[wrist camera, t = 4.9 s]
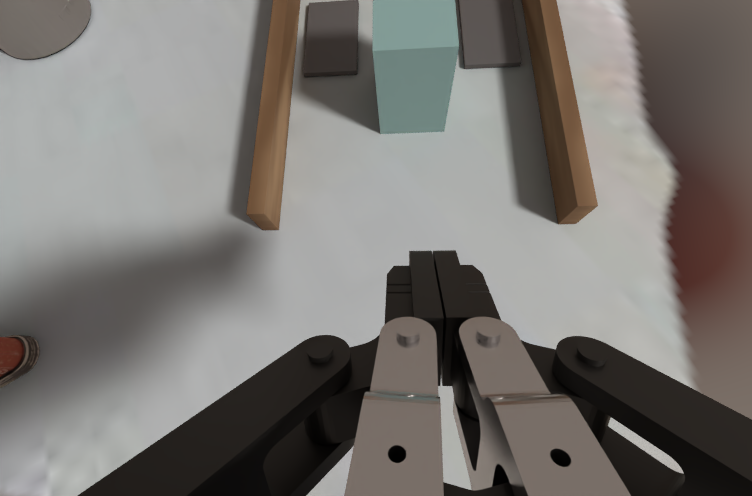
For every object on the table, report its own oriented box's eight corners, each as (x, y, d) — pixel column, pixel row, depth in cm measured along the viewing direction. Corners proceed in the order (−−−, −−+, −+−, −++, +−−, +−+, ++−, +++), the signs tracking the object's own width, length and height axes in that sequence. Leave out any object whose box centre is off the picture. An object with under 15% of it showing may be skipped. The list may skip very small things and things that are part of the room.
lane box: (262, 230, 27) (225, 193, 21) (292, -48, 36) (272, -125, 30) (575, 223, 25) (626, 182, 20) (524, -64, 34) (548, -149, 29)
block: (380, 134, 29) (372, 50, 21) (380, 73, 31) (373, -23, 23) (444, 131, 28) (459, 46, 21) (440, 70, 30) (452, -29, 23)
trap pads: (304, 76, 31) (303, 73, 31) (310, 7, 33) (309, 2, 33) (519, 66, 30) (521, 62, 29) (509, -6, 32) (510, -10, 32)
